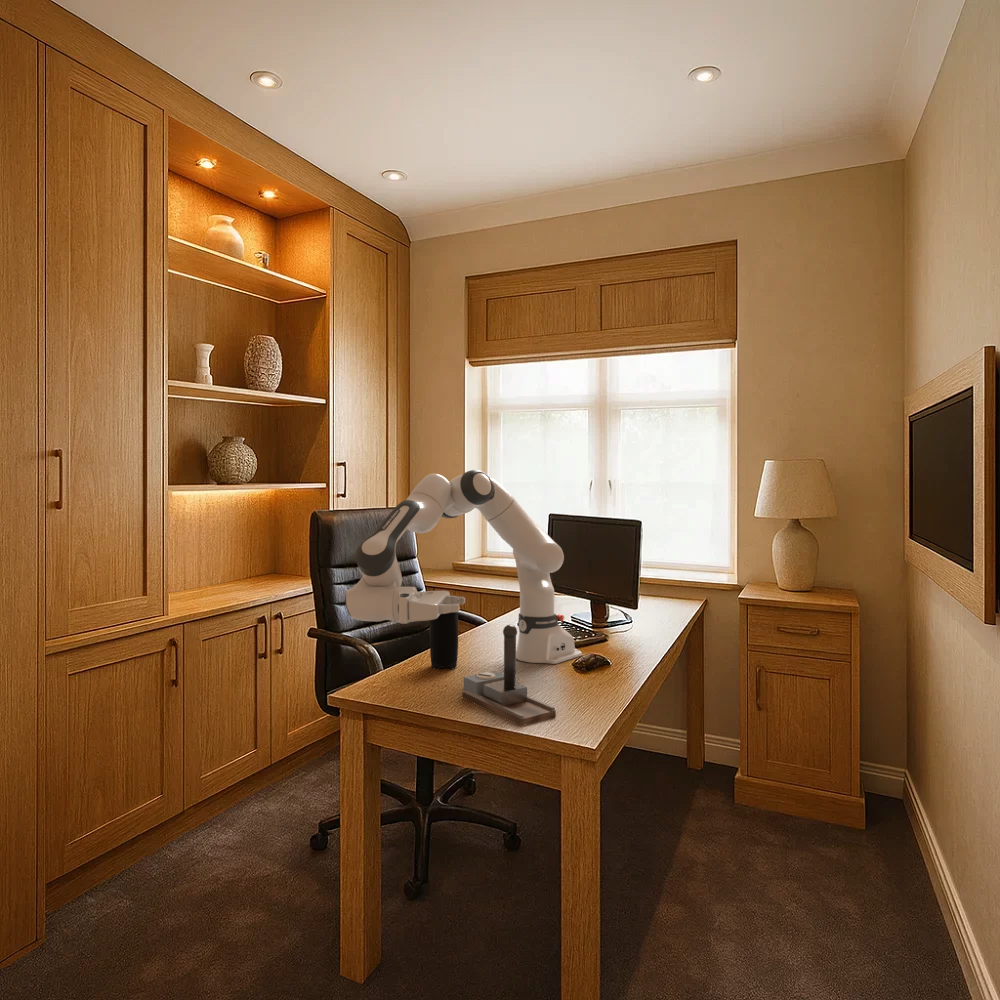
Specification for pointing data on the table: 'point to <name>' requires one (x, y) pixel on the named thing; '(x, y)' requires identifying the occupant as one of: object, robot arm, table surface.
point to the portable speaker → (444, 640)
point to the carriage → (507, 675)
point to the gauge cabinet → (481, 681)
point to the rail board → (515, 709)
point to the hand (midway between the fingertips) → (461, 604)
